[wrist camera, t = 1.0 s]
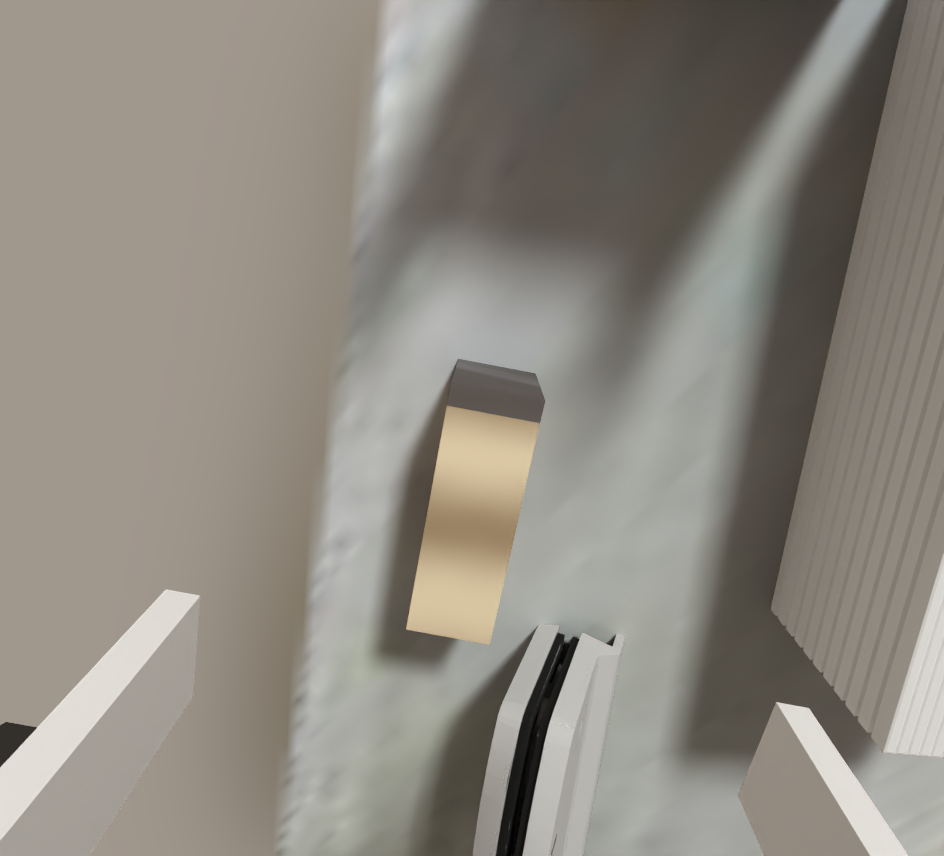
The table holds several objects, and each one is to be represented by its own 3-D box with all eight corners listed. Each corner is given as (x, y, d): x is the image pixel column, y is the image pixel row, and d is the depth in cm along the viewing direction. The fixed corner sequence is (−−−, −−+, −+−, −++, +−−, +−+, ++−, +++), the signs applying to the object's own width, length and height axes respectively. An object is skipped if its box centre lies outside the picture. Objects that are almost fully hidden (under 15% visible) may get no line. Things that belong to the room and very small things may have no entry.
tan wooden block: (490, 580, 35) (489, 644, 29) (420, 567, 35) (406, 629, 29) (535, 373, 32) (545, 400, 26) (458, 358, 32) (450, 382, 26)
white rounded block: (583, 855, 40) (542, 1023, 31) (513, 826, 42) (455, 978, 33) (626, 630, 36) (592, 750, 27) (546, 606, 37) (488, 712, 28)
